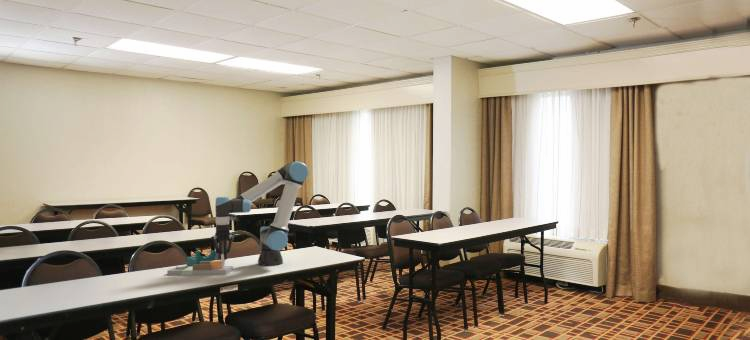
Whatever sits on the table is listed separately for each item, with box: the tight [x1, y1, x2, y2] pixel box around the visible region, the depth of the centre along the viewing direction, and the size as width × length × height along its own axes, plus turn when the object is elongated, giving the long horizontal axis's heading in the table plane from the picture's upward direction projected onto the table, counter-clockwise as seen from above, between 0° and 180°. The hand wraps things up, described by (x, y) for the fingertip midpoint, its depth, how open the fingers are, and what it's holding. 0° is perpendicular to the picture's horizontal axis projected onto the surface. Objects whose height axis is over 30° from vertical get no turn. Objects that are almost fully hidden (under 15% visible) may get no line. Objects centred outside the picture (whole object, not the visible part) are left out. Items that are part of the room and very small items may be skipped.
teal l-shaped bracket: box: [186, 250, 217, 266], centre depth 320 cm, size 18×11×10 cm, turn 37°
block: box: [210, 259, 224, 269], centre depth 301 cm, size 6×6×4 cm
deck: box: [166, 261, 234, 276], centre depth 301 cm, size 34×12×6 cm, turn 87°
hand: (223, 265), depth 301 cm, fingers closed
